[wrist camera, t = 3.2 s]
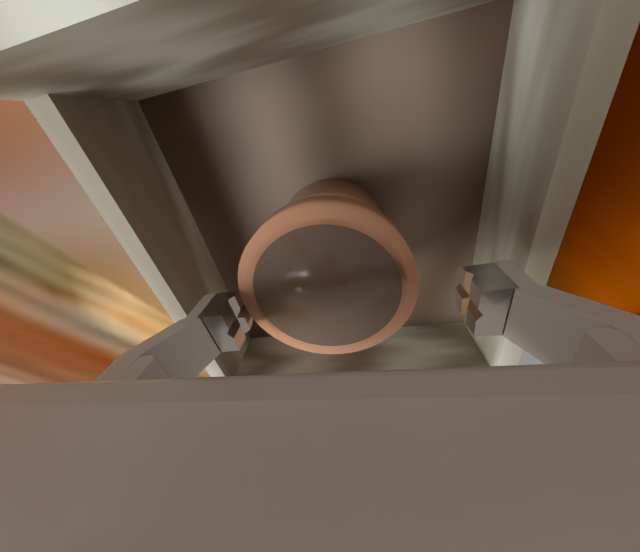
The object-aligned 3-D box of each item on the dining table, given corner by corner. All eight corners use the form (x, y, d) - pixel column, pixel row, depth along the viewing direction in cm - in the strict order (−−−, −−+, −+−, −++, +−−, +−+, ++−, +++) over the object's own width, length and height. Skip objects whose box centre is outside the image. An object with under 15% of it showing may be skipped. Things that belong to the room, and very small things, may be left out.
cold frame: (247, 340, 21) (202, 442, 15) (119, 81, 12) (-170, 36, 5) (472, 323, 18) (547, 443, 11) (538, -44, 9) (1157, -557, 2)
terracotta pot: (291, 286, 17) (268, 359, 12) (259, 183, 13) (206, 224, 8) (393, 274, 16) (418, 350, 10) (389, 158, 12) (422, 187, 7)
